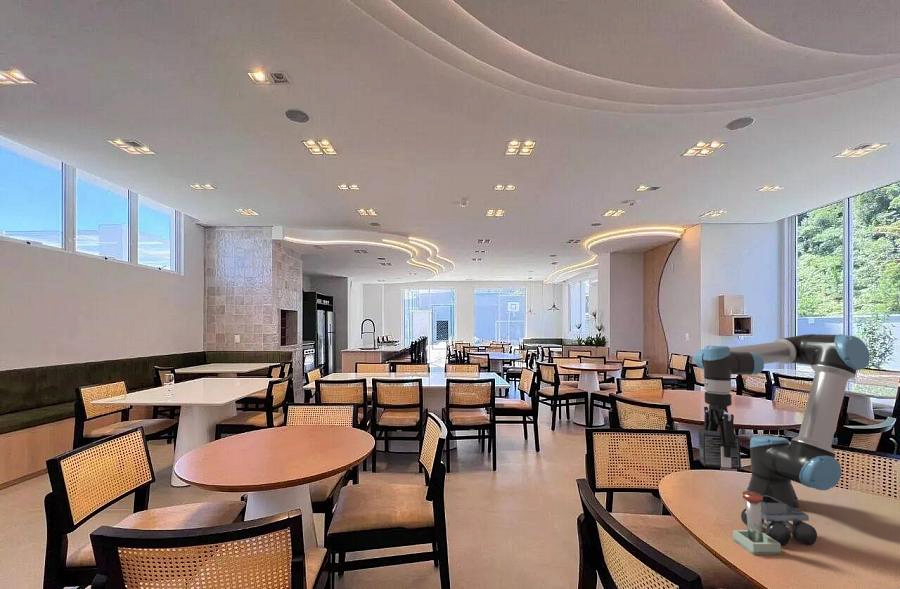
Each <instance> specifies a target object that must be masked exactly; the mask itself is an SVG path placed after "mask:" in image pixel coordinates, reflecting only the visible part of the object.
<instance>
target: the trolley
mask: <svg viewBox="0 0 900 589" xmlns="http://www.w3.org/2000/svg"><path fill="white" fill-rule="evenodd" d="M762 496H763V501H762V502H761V515H762V528H764V529H765V534H766V535H768V536H769V537H771V538H772V539H774V540H776V541H777V542H779V543H780V544H781V547H785V546H786V545H788V544H789V543H790V542H791V539H792V538H793V539H794V540H795V541H797V542H798V543H800V544H802V545H803V546H806V547H807V546H808V547H809V546H813V545H814V544H815V543H816V541H817V540H818V532H817V530H816V528H815V527H814V526H812V525H811V524H809V523H807V522H808V521H809V520H810V518H809V514H807V513H805V512H803V511H801V510H799V509H798V508H796V509H795V508H793V507H791V506H790V505H788V504H785V503H783V502H781V501H779V500H777V499H775V498H773V497H771V496H769V495H762ZM740 516H741V517H740V519H741V522H742V523H743V524H744V525H745V526H747V514H746V507H745V508H743V510H742V512H741V514H740ZM805 521H806V522H805ZM765 522H766V523H765ZM791 522H792V523H791ZM789 528H790V529H791V531H790V529H789Z"/></svg>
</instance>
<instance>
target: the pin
mask: <svg viewBox="0 0 900 589" xmlns="http://www.w3.org/2000/svg"><path fill="white" fill-rule="evenodd" d="M742 498H743V499H744V500H745V508H746V514H747V525H746V527H747V530H748V539H749V540H751V541H752V542H754V543H762V542H763V533H764V532H763V531H764V530H763V528H764V527H762V515H761V502H762V501H763V496H762V495H761V494H759V493H756V492H752V491H747V490H744V491H742Z"/></svg>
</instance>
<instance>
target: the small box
mask: <svg viewBox="0 0 900 589" xmlns="http://www.w3.org/2000/svg"><path fill="white" fill-rule="evenodd" d="M734 434H735V444H736V446H735V447H731V468H727V467H721V446H720V445H721V444H722V441H721V437H720V432H719V430H717V431H707V430H704V429H698V447H699V451H698V452H699V453H698V454H699V456H698V457H699V462H700V463H701V464H702V466H704V467H709V468H719V469H726V470H727V469H728V470H739V471H742V465H741V460H742V459H741V437H740V436H739V435H738V434H736V433H735V432H734Z"/></svg>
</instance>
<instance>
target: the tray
mask: <svg viewBox="0 0 900 589" xmlns="http://www.w3.org/2000/svg"><path fill="white" fill-rule="evenodd" d="M732 540H733V542H735V543H736V544H738V546H741V547H742V548H743V549H745V551H748V553H750V554H751V555H753V556H780V555H781V556H782V546H781V544H780V543H779V542H777V541H776V540H774V539H772V538H771V537H769V536H768V535H766V533H765V532H763V542H762V543H754V542H752V541H751V540H749V539H748V529H733V530H732Z"/></svg>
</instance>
